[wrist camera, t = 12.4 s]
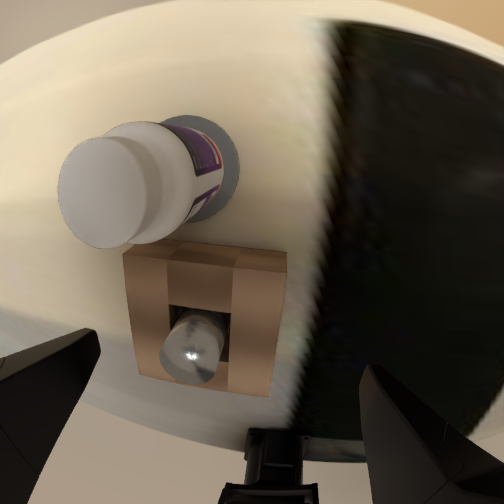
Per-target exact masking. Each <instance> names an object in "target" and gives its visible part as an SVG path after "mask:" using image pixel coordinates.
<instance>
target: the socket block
mask: <svg viewBox="0 0 504 504" xmlns="http://www.w3.org/2000/svg"><path fill="white" fill-rule="evenodd" d="M123 264H124V275H125V285H126V294H127V302H128V310H129V317H130V324H131V330H132V337H133V343H134V349H135V354H136V360H137V365H138V370H139V374H140V375H144V376H148V377H152V378H156V379H161V380H165V381H170V382H174V383H179V384H184V385H189V386H195V387H200V388H206V389H212V390H218V391H224V392H231V393H238V394H246V395H254V396H263V397H268V395H269V390H270V384H271V378H272V372H273V366H274V359H275V353H276V347H277V340H278V334H279V327H280V320H281V313H282V306H283V299H284V292H285V285H286V277H287V252H279V251H269V250H260V249H250V248H241V247H231V246H222V245H212V244H203V243H193V242H184V241H174V240H164V239H160V240H158V241H155V242H152V243H146V244H136V245H134V246H133V247H132V248H130V249H129V250H128V251H126V252H125V253H123ZM185 307H190V308H197V309H204V310H211V311H218V312H226V313H231V324H230V333H227V336H226V339H225V342H224V346H223V349H222V352H221V356H220V359H219V362H218V366H217V369H216V372H215V375H214V376H213V378H212V379H211V380H209V381H208V382H206V383H203V384H187V383H183V382H181V381H178V380H176V379H175V378H173V377H172V376H170V375H169V374H168V373H167V372H166V371H165V370H164V368H163V367H162V365H161V363H160V360H159V352H160V349H161V347H162V346H163V344H164V342H165V340H166V339H167V337H168V335H169V334H170V332H171V330H172V328H173V327H174V325H175V323H176V322H177V320H178V318H179V316H180V315H181V313H182V311H183V310H184V308H185Z"/></svg>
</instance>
